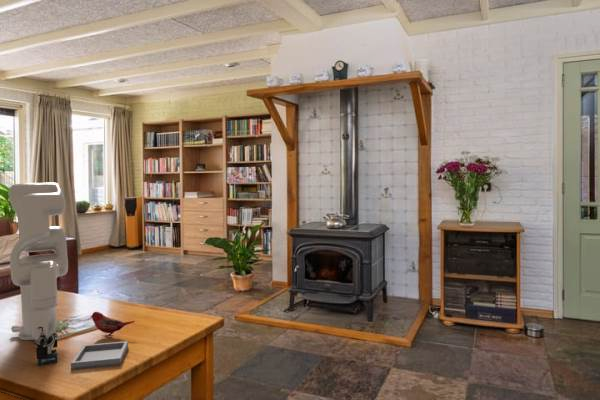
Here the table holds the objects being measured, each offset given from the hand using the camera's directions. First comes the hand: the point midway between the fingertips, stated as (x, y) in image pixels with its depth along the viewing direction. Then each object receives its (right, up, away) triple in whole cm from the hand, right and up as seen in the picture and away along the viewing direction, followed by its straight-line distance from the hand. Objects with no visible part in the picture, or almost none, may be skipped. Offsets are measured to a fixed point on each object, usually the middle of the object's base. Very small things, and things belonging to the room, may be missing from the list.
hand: (47, 352), depth 146 cm
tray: (+17, -3, +3) cm, 17 cm away
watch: (0, -4, 0) cm, 4 cm away
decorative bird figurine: (+12, -2, +22) cm, 26 cm away
